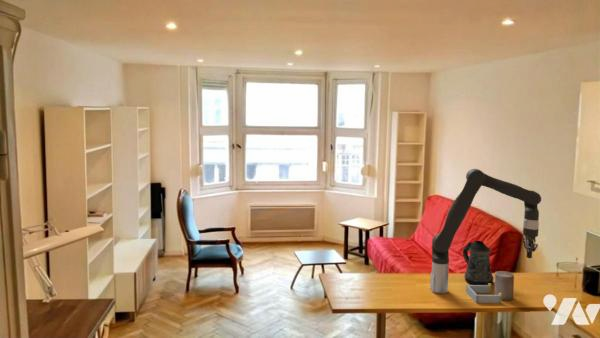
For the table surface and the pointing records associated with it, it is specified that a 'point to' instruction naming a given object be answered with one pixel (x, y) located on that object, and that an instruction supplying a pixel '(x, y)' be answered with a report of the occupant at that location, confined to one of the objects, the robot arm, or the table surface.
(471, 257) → the beer stein
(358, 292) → the table surface
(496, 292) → the pillar candle
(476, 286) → the tray
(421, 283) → the table surface
